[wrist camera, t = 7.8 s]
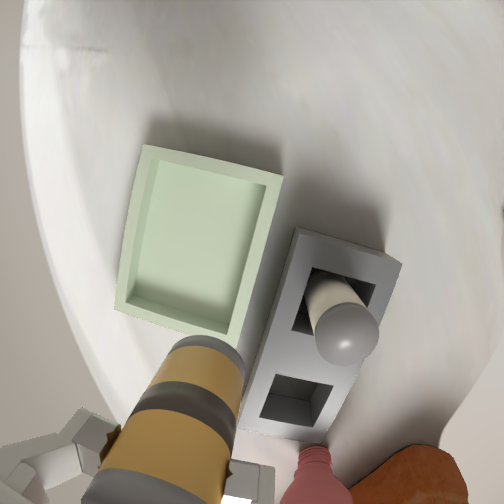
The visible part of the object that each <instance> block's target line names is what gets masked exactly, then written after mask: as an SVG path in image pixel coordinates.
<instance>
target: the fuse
mask: <svg viewBox="0 0 504 504" xmlns="http://www.w3.org/2000/svg"><path fill="white" fill-rule="evenodd" d="M304 298H305V302H306V306H307V309H308V313H309V317H310V321H311V325H312V329H313V333H314V337H315V341H316V345H317V349H318V351H319V353H320V355H321V356H322V357H323V359H325V360H326V361H327V362H329V363H331V364H333V365H337V366H349V365H353V364H356V363H358V362H360V361H362V360H364V359H365V358H366V357H368V356H369V355H370V354H371V352H372V351H373V350H374V348H375V346H376V345H377V342H378V338H379V328H378V324H377V322H376V320H375V319H374V317H373V316H372V314H371V313H370V312H369V310H368V309H367V308H366V306H365V305H364V304H363V302H362V301H361V299H360V298H359V297H358V295H357V294H356V293H355V291H354V290H353V289H352V287H351V286H350V285H349V283H348V282H347V281H346V279H345V278H344V277H343V276H342V275H339V274H336V273H332V272H329V271H325V270H319V271H317V272H315V273H313V274H312V275H311V276H310V277H309V278H308V281H307V284H306V288H305V291H304Z"/></svg>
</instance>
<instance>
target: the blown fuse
mask: <svg viewBox="0 0 504 504" xmlns="http://www.w3.org/2000/svg"><path fill="white" fill-rule="evenodd" d="M244 380H245V366H244V362H243V360H242V358H241V356H240V355H239V354H238V352H237V351H236V350H235V349H234V348H233V347H232V346H230V345H229V344H228V343H226V342H224V341H222V340H220V339H218V338H215V337H212V336H207V335H193V336H189V337H186V338H183V339H181V340H180V341H178V342H177V343H176V344H175V345H174V346H173V347H172V349H171V350H170V352H169V354H168V355H167V357H166V358H165V360H164V362H163V363H162V365H161V367H160V368H159V370H158V371H157V373H156V375H155V376H154V378H153V380H152V381H151V383H150V385H149V386H148V388H147V389H146V391H145V392H144V393H143V395H142V397H141V398H140V400H139V402H138V403H137V405H136V406H135V408H134V410H133V411H132V413H131V415H130V416H129V418H128V420H127V421H126V424H125V426H124V428H123V429H122V431H121V433H120V434H119V436H118V438H117V439H116V441H115V443H114V444H113V446H112V448H111V449H110V451H109V453H108V454H107V456H106V458H105V459H104V461H103V463H102V465H101V466H100V468H99V470H98V471H97V473H96V475H95V476H94V478H93V480H92V482H91V483H90V485H89V487H88V488H87V490H86V492H85V494H84V495H83V497H82V499H81V504H221V500H222V494H223V489H224V485H225V482H226V473H227V468H228V463H229V460H230V459H231V456H232V450H233V445H234V439H235V434H236V425H237V420H238V414H239V408H240V403H241V397H242V392H243V386H244Z"/></svg>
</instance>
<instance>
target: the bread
mask: <svg viewBox="0 0 504 504" xmlns="http://www.w3.org/2000/svg"><path fill="white" fill-rule="evenodd" d="M348 491H349V492H350V494H351V496H352V499H353V504H469V503H468V491H467V486H466V483H465V481H464V479H463V477H462V475H461V472H460V470H459V468H458V467H457V464H456V462H455V460H454V458H453V457H452V456H451V455H450V454H449V453H446V452H445V451H443V450H441V449H438V448H436V447H433V446H429V445H416V444H413V445H411V446H409V447H407V448H405V449H403V450H401V451H399V452H397V453H396V454H394V455H393V456H392V457H391V458H390V459H388V460H387V461H386V462H385V463H384V464H382V465H381V466H380V467H379V468H378V469H376V470H375V471H374V472H372V473H371V474H370V475H368V476H367V477H365V478H364V479H363V480H361V481H360V482H358V483H357V484H356V485H354V486H353V487H351V488H350V489H348Z"/></svg>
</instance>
